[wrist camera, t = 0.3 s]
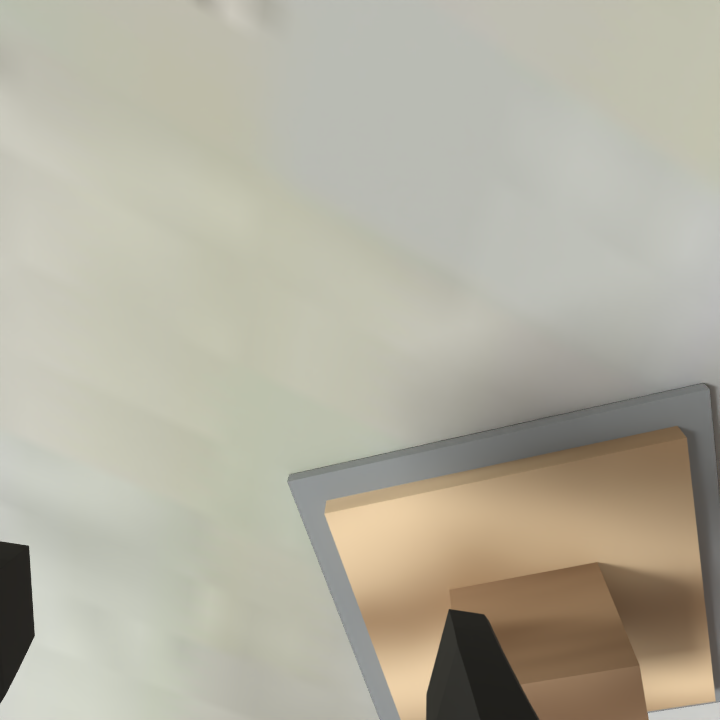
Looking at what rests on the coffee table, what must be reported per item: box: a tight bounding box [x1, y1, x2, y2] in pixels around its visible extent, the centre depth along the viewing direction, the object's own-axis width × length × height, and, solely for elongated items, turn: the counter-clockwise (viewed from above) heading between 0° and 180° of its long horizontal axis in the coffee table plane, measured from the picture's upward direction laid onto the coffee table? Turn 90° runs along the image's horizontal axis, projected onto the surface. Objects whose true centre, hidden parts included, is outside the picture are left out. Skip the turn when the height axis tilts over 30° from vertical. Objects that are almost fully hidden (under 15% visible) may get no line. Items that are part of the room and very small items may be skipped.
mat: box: [287, 383, 720, 720], centre depth 23 cm, size 13×13×1 cm
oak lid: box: [324, 426, 716, 720], centre depth 21 cm, size 11×11×5 cm
